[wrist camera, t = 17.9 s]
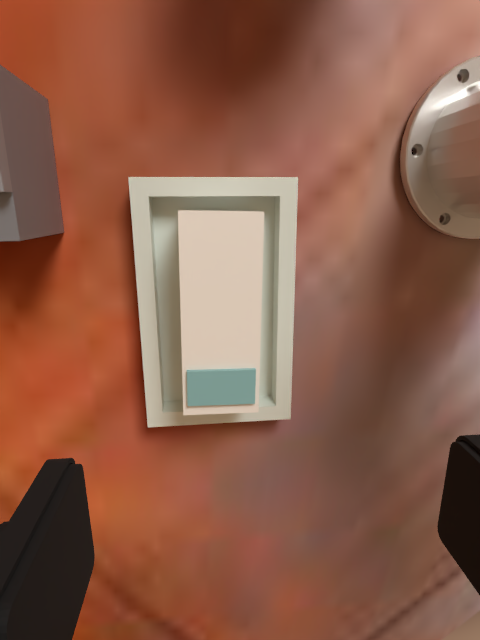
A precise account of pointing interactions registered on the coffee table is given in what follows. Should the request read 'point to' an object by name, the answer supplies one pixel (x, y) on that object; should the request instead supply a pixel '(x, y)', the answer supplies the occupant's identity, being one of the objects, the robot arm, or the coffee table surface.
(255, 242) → the teal-tabbed cream block
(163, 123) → the coffee table surface
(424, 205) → the robot arm
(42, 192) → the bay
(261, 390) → the tray
